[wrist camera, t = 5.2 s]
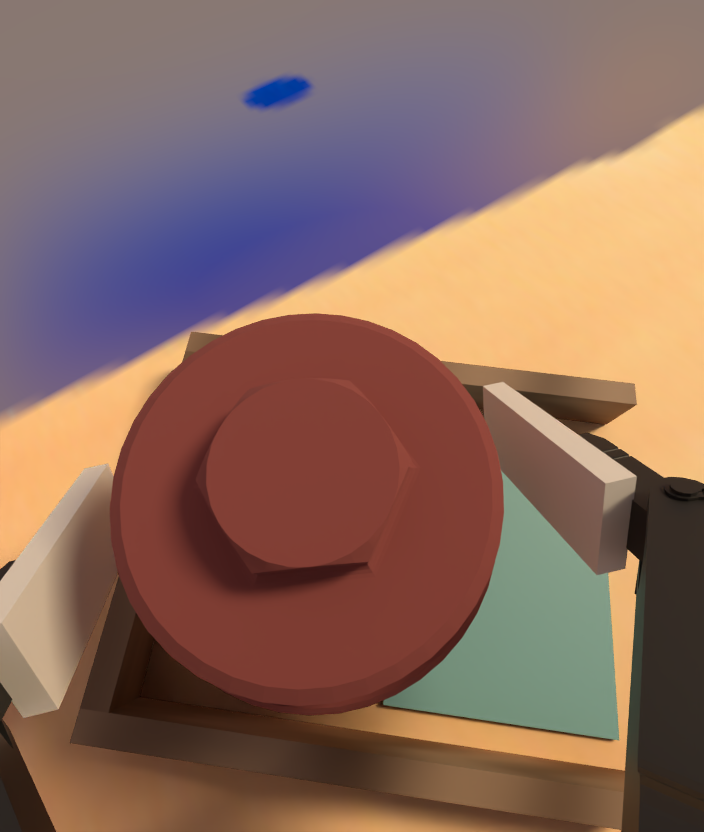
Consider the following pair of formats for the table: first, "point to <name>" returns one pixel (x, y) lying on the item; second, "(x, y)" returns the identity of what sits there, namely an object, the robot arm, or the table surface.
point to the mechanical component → (308, 513)
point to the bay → (443, 686)
